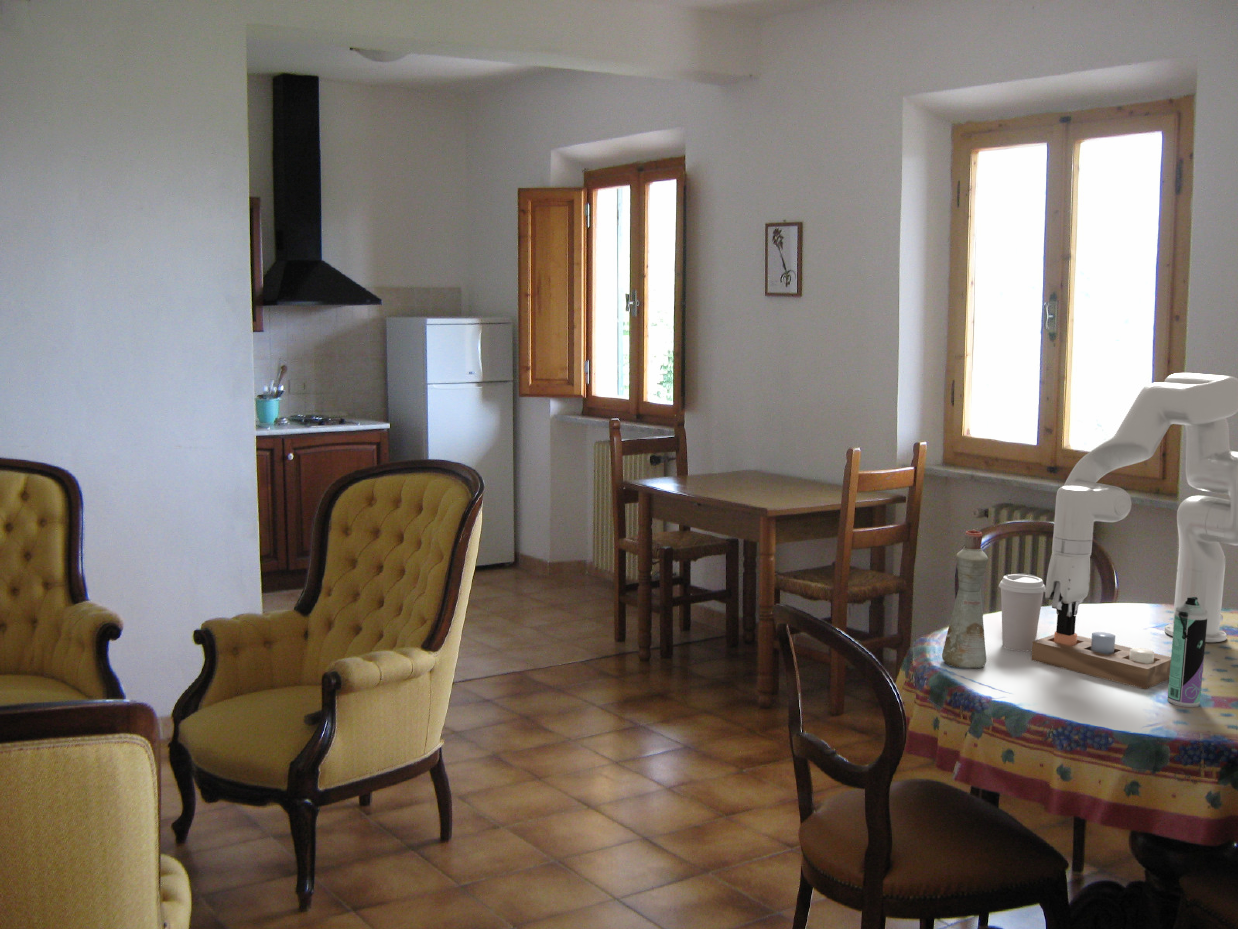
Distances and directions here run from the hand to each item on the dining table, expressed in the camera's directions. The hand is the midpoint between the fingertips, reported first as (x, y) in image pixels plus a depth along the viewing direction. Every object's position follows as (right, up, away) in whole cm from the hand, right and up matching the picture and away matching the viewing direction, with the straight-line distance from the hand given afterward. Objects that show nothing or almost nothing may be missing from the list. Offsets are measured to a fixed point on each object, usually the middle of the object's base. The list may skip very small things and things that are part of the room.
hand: (1065, 633), depth 251 cm
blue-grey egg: (+5, -4, -5) cm, 9 cm away
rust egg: (0, -5, +1) cm, 5 cm away
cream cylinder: (+11, -7, -11) cm, 17 cm away
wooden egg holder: (+5, -6, -5) cm, 10 cm away
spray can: (+13, -9, -25) cm, 30 cm away
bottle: (-22, -6, -4) cm, 23 cm away
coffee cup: (-7, -4, +10) cm, 12 cm away
